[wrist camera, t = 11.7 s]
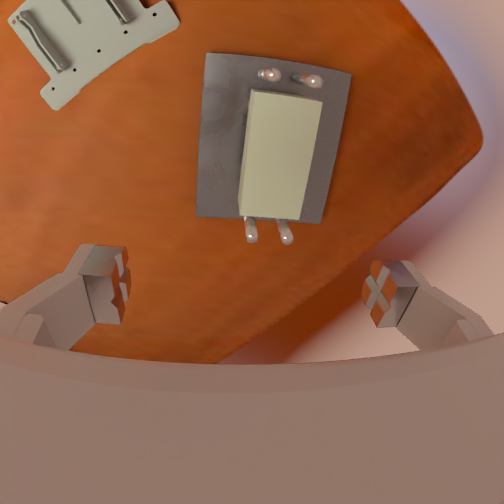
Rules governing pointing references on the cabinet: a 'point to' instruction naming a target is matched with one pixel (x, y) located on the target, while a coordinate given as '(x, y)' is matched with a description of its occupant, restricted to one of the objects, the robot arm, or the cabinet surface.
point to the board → (277, 154)
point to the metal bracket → (85, 38)
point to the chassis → (234, 129)
